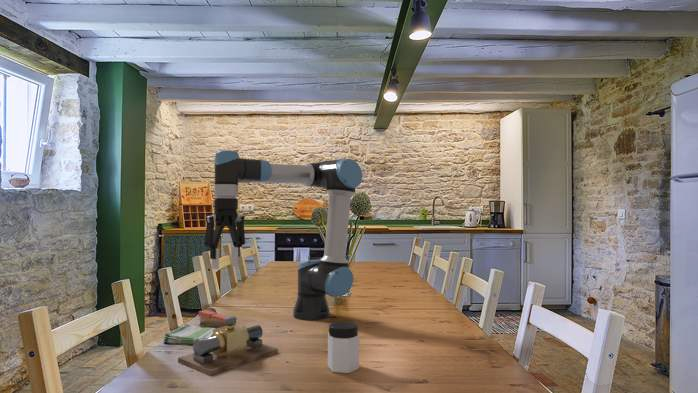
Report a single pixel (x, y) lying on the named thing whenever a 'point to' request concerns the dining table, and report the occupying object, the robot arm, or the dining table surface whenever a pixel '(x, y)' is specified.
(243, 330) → the valve body
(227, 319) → the lever
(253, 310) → the dining table surface
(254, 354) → the mount board
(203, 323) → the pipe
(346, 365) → the jar
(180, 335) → the dish towel
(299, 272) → the robot arm
